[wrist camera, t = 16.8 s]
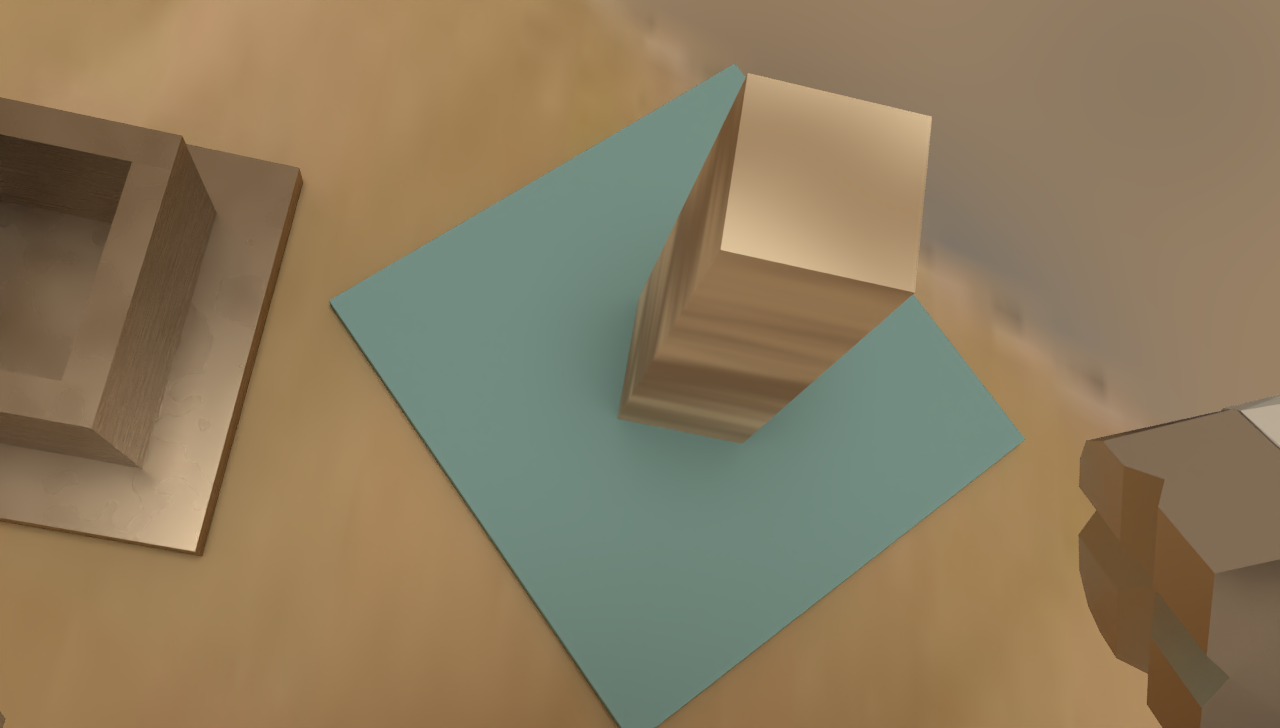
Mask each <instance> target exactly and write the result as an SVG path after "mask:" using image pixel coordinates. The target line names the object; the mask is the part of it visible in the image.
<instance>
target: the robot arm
mask: <svg viewBox="0 0 1280 728" xmlns="http://www.w3.org/2000/svg"><path fill="white" fill-rule="evenodd" d="M1079 487H1080V489H1081V490H1082V491H1083V493H1084V494H1085V495H1086V497H1087V498H1088V499H1089V501H1090V502H1091V503H1092V505H1093V506H1094V507H1095V509H1096V511H1095V513H1094V514H1093V516H1092V517H1091V518H1090V520H1089V521H1088V522H1087V524H1086V525H1085V527H1084V528H1083V529H1082V531H1081V532H1080V533H1079V571H1080V575H1081V579H1082V583H1083V587H1084V591H1085V595H1086V599H1087V603H1088V607H1089V609H1090V611H1091V613H1092V615H1093V618H1094V620H1095V622H1096V624H1097V627H1098V629H1099V631H1100V633H1101V635H1102V636H1103V638H1104V639H1105V641H1106V642H1107V644H1108V646H1109V647H1110V649H1111V650H1112V652H1113V653H1114V655H1115V657H1116V658H1117V659H1119V660H1121V661H1123V662H1125V663H1127V664H1129V665H1131V666H1133V667H1135V668H1137V669H1139V670H1141V671H1143V672H1145V673H1147V674H1148V688H1147V705H1148V707H1149V708H1150V710H1151V711H1152V713H1153V714H1154V716H1155V717H1156V719H1157V720H1158V722H1159V723H1160V725H1161V726H1162V728H1280V394H1279V395H1275V396H1271V397H1267V398H1263V399H1259V400H1254V401H1251V402H1246V403H1242V404H1238V405H1234V406H1230V407H1225V408H1223V409H1222V410H1221V411H1219V412H1213V413H1208V414H1204V415H1199V416H1195V417H1191V418H1186V419H1181V420H1177V421H1172V422H1168V423H1163V424H1159V425H1154V426H1150V427H1145V428H1140V429H1136V430H1131V431H1127V432H1122V433H1118V434H1113V435H1109V436H1104V437H1100V438H1095V439H1091V440H1086V443H1085V446H1084V448H1083V451H1082V454H1081V457H1080V476H1079ZM4 723H5V717H4V716H3V715H2V713H1V712H0V728H3V726H4Z"/></svg>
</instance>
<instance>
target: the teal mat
mask: <svg viewBox="0 0 1280 728" xmlns="http://www.w3.org/2000/svg"><path fill="white" fill-rule="evenodd" d="M745 78H746V77H745V76H744V75H743V73H742V72H741V71H740V69H739V68H738V67H737V66H736V64H733V65H731V66H730V67H728V68H726V69H725V70H723V71H721V72H720V73H718V74H716V75H714V76H713V77H711V78H709V79H708V80H706V81H704V82H702V83H701V84H699V85H697V86H696V87H694V88H692V89H690V90H689V91H687V92H685V93H684V94H682V95H680V96H678V97H677V98H675V99H673V100H672V101H670V102H668V103H666V104H665V105H663V106H661V107H660V108H658V109H656V110H654V111H653V112H651V113H649V114H648V115H646V116H644V117H642V118H641V119H639V120H637V121H636V122H634V123H632V124H631V125H629V126H627V127H625V128H624V129H622V130H620V131H619V132H617V133H615V134H613V135H612V136H610V137H608V138H607V139H605V140H603V141H601V142H600V143H598V144H596V145H595V146H593V147H591V148H589V149H588V150H586V151H584V152H583V153H581V154H579V155H577V156H576V157H574V158H572V159H571V160H569V161H567V162H565V163H564V164H562V165H560V166H559V167H557V168H555V169H554V170H552V171H550V172H548V173H547V174H545V175H543V176H542V177H540V178H538V179H536V180H535V181H533V182H531V183H530V184H528V185H526V186H524V187H523V188H521V189H519V190H518V191H516V192H514V193H512V194H511V195H509V196H507V197H506V198H504V199H502V200H500V201H499V202H497V203H495V204H494V205H492V206H490V207H488V208H487V209H485V210H483V211H482V212H480V213H478V214H476V215H475V216H473V217H471V218H470V219H468V220H466V221H465V222H463V223H461V224H459V225H458V226H456V227H454V228H453V229H451V230H449V231H447V232H446V233H444V234H442V235H441V236H439V237H437V238H435V239H434V240H432V241H430V242H429V243H427V244H425V245H423V246H422V247H420V248H418V249H417V250H415V251H413V252H411V253H410V254H408V255H406V256H405V257H403V258H401V259H399V260H398V261H396V262H394V263H393V264H391V265H389V266H387V267H386V268H384V269H382V270H381V271H379V272H377V273H376V274H374V275H372V276H370V277H369V278H367V279H365V280H364V281H362V282H360V283H358V284H357V285H355V286H353V287H352V288H350V289H348V290H346V291H345V292H343V293H341V294H340V295H338V296H336V297H334V298H333V299H331V300H329V302H330V306H331V307H332V309H333V310H334V312H335V313H336V315H337V316H338V318H339V319H340V320H341V322H342V323H343V325H344V326H345V328H346V329H347V331H348V332H349V334H350V335H351V337H352V338H353V339H354V341H355V342H356V344H357V345H358V347H359V348H360V350H361V351H362V353H363V354H364V356H365V357H366V358H367V360H368V361H369V363H370V364H371V366H372V367H373V369H374V370H375V372H376V373H377V375H378V376H379V377H380V379H381V380H382V382H383V383H384V385H385V386H386V388H387V389H388V391H389V392H390V393H391V395H392V396H393V398H394V399H395V401H396V402H397V404H398V405H399V407H400V408H401V410H402V411H403V412H404V414H405V415H406V417H407V418H408V420H409V421H410V423H411V424H412V426H413V427H414V429H415V430H416V431H417V433H418V434H419V436H420V437H421V439H422V440H423V442H424V443H425V445H426V446H427V448H428V449H429V450H430V452H431V453H432V455H433V456H434V458H435V459H436V461H437V462H438V464H439V465H440V467H441V468H442V469H443V471H444V472H445V474H446V475H447V477H448V478H449V480H450V481H451V483H452V484H453V486H454V487H455V488H456V490H457V491H458V493H459V494H460V496H461V497H462V499H463V500H464V502H465V503H466V505H467V506H468V507H469V509H470V510H471V512H472V513H473V515H474V516H475V518H476V519H477V521H478V522H479V524H480V525H481V526H482V528H483V529H484V531H485V532H486V534H487V535H488V537H489V538H490V540H491V541H492V543H493V544H494V545H495V547H496V548H497V550H498V551H499V553H500V554H501V556H502V557H503V559H504V560H505V561H506V563H507V564H508V566H509V567H510V569H511V570H512V572H513V573H514V575H515V576H516V578H517V579H518V580H519V582H520V583H521V585H522V586H523V588H524V589H525V591H526V592H527V594H528V595H529V597H530V598H531V599H532V601H533V602H534V604H535V605H536V607H537V608H538V610H539V611H540V613H541V614H542V616H543V617H544V618H545V620H546V621H547V623H548V624H549V626H550V627H551V629H552V630H553V632H554V633H555V635H556V636H557V637H558V639H559V640H560V642H561V643H562V645H563V646H564V648H565V649H566V651H567V652H568V654H569V655H570V656H571V658H572V659H573V661H574V662H575V664H576V665H577V667H578V668H579V670H580V671H581V673H582V674H583V675H584V677H585V678H586V680H587V681H588V683H589V684H590V686H591V687H592V689H593V690H594V692H595V693H596V694H597V696H598V697H599V699H600V700H601V702H602V703H603V705H604V706H605V708H606V709H607V710H608V712H609V713H610V715H611V716H612V718H613V719H614V721H615V722H616V724H617V725H618V727H619V728H656V727H657V726H658V725H660V724H661V723H662V722H663V721H665V720H666V719H667V718H668V717H670V716H671V715H672V714H674V713H675V712H676V711H677V710H679V709H680V708H681V707H683V706H684V705H685V704H686V703H688V702H689V701H690V700H692V699H693V698H694V697H695V696H697V695H698V694H699V693H701V692H702V691H703V690H704V689H706V688H707V687H708V686H710V685H711V684H712V683H713V682H715V681H716V680H717V679H719V678H720V677H721V676H722V675H724V674H725V673H726V672H727V671H729V670H730V669H731V668H733V667H734V666H735V665H736V664H738V663H739V662H740V661H742V660H743V659H744V658H745V657H747V656H748V655H749V654H751V653H752V652H753V651H754V650H756V649H757V648H758V647H760V646H761V645H762V644H763V643H765V642H766V641H767V640H769V639H770V638H771V637H772V636H774V635H775V634H776V633H778V632H779V631H780V630H781V629H783V628H784V627H785V626H787V625H788V624H789V623H790V622H792V621H793V620H794V619H795V618H797V617H798V616H799V615H801V614H802V613H803V612H804V611H806V610H807V609H808V608H810V607H811V606H812V605H813V604H815V603H816V602H817V601H819V600H820V599H821V598H822V597H824V596H825V595H826V594H828V593H829V592H830V591H831V590H833V589H834V588H835V587H837V586H838V585H839V584H840V583H842V582H843V581H844V580H846V579H847V578H848V577H849V576H851V575H852V574H853V573H854V572H856V571H857V570H858V569H860V568H861V567H862V566H863V565H865V564H866V563H867V562H869V561H870V560H871V559H872V558H874V557H875V556H876V555H878V554H879V553H880V552H881V551H883V550H884V549H885V548H887V547H888V546H889V545H890V544H892V543H893V542H894V541H896V540H897V539H898V538H899V537H901V536H902V535H903V534H905V533H906V532H907V531H908V530H910V529H911V528H912V527H914V526H915V525H916V524H917V523H919V522H920V521H921V520H922V519H924V518H925V517H926V516H928V515H929V514H930V513H931V512H933V511H934V510H935V509H937V508H938V507H939V506H940V505H942V504H943V503H944V502H946V501H947V500H948V499H949V498H951V497H952V496H953V495H955V494H956V493H957V492H958V491H960V490H961V489H962V488H964V487H965V486H966V485H967V484H969V483H970V482H971V481H973V480H974V479H975V478H976V477H978V476H979V475H980V474H982V473H983V472H984V471H985V470H987V469H988V468H989V467H990V466H992V465H993V464H994V463H996V462H997V461H998V460H999V459H1001V458H1002V457H1003V456H1005V455H1006V454H1007V453H1008V452H1010V451H1011V450H1012V449H1014V448H1015V447H1016V446H1017V445H1019V444H1020V443H1021V442H1023V441H1024V440H1025V438H1024V437H1023V436H1022V435H1021V433H1020V432H1019V431H1018V429H1017V428H1016V427H1015V425H1014V424H1013V423H1012V422H1011V420H1010V419H1009V418H1008V416H1007V415H1006V414H1005V413H1004V411H1003V410H1002V409H1001V407H1000V406H999V405H998V403H997V402H996V401H995V400H994V398H993V397H992V396H991V394H990V393H989V392H988V391H987V389H986V388H985V387H984V385H983V384H982V383H981V381H980V380H979V379H978V378H977V376H976V375H975V374H974V372H973V371H972V370H971V369H970V367H969V366H968V365H967V363H966V362H965V361H964V359H963V358H962V357H961V356H960V354H959V353H958V352H957V350H956V349H955V348H954V347H953V345H952V344H951V343H950V341H949V340H948V339H947V337H946V336H945V335H944V334H943V332H942V331H941V330H940V328H939V327H938V326H937V325H936V323H935V322H934V321H933V319H932V318H931V317H930V315H929V314H928V313H927V312H926V310H925V309H924V308H923V306H922V305H921V304H920V302H919V301H918V300H917V299H916V297H915V296H914V295H912V296H910V297H909V298H908V299H907V300H906V301H905V302H904V303H902V304H901V305H900V306H899V307H898V308H897V309H896V310H894V311H893V312H892V313H891V314H890V315H889V316H888V317H886V318H885V319H884V320H883V321H882V322H881V323H880V324H878V325H877V326H876V327H875V328H874V329H873V330H872V331H870V332H869V333H868V334H867V335H866V336H865V337H864V338H862V339H861V340H860V341H859V342H858V343H857V344H856V345H854V346H853V347H852V348H851V349H850V350H849V351H848V352H847V353H845V354H844V355H843V356H842V357H841V358H840V359H839V360H837V361H836V362H835V363H834V364H833V365H832V366H831V367H829V368H828V369H827V370H826V371H825V372H824V373H823V374H821V375H820V376H819V377H818V378H817V379H816V380H815V381H813V382H812V383H811V384H810V385H809V386H808V387H807V388H805V389H804V390H803V391H802V392H801V393H800V394H799V395H797V396H796V397H795V398H794V399H793V400H792V401H791V402H789V403H788V404H787V405H786V406H785V407H784V408H783V409H781V410H780V411H779V412H778V413H777V414H776V415H775V416H773V417H772V418H771V419H770V420H769V421H768V422H767V423H766V424H764V425H763V426H762V427H761V428H760V429H759V430H758V431H756V432H755V433H754V434H753V435H752V436H751V437H750V438H748V439H747V440H746V441H745V442H744V443H743V444H741V443H736V442H731V441H726V440H721V439H716V438H711V437H706V436H701V435H696V434H691V433H686V432H681V431H676V430H671V429H666V428H661V427H656V426H651V425H647V424H642V423H637V422H632V421H627V420H622V419H617V418H618V413H619V407H620V401H621V395H622V390H623V384H624V378H625V373H626V367H627V361H628V355H629V350H630V344H631V338H632V333H633V327H634V321H635V316H636V310H637V304H638V299H639V297H640V295H641V293H642V291H643V289H644V287H645V284H646V282H647V280H648V278H649V276H650V274H651V272H652V270H653V268H654V266H655V264H656V262H657V260H658V258H659V256H660V253H661V251H662V249H663V247H664V245H665V243H666V241H667V239H668V237H669V235H670V233H671V231H672V229H673V227H674V225H675V222H676V220H677V218H678V216H679V214H680V212H681V210H682V208H683V206H684V204H685V202H686V200H687V198H688V196H689V194H690V191H691V189H692V187H693V185H694V183H695V181H696V179H697V177H698V175H699V173H700V171H701V169H702V167H703V165H704V162H705V160H706V158H707V156H708V154H709V152H710V150H711V148H712V146H713V144H714V142H715V140H716V138H717V136H718V134H719V131H720V129H721V127H722V125H723V123H724V121H725V119H726V117H727V115H728V113H729V111H730V109H731V107H732V105H733V103H734V100H735V98H736V96H737V94H738V92H739V90H740V88H741V86H742V84H743V82H744V80H745Z"/></svg>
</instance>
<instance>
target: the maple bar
mask: <svg viewBox="0 0 1280 728" xmlns="http://www.w3.org/2000/svg"><path fill="white" fill-rule="evenodd" d="M931 120H932V117H931V116H926V115H922V114H918V113H914V112H909V111H905V110H901V109H896V108H893V107H888V106H884V105H880V104H875V103H871V102H867V101H863V100H859V99H854V98H851V97H846V96H842V95H838V94H834V93H830V92H825V91H821V90H817V89H813V88H808V87H804V86H800V85H796V84H792V83H787V82H783V81H779V80H775V79H770V78H766V77H762V76H758V75H754V74H749V73H748V74H747V76H746V78H745V80H744V82H743V84H742V86H741V88H740V90H739V92H738V94H737V96H736V98H735V100H734V103H733V105H732V107H731V109H730V111H729V113H728V115H727V117H726V119H725V121H724V123H723V125H722V127H721V129H720V131H719V134H718V136H717V138H716V140H715V142H714V144H713V146H712V148H711V150H710V152H709V154H708V156H707V158H706V160H705V162H704V165H703V167H702V169H701V171H700V173H699V175H698V177H697V179H696V181H695V183H694V185H693V187H692V189H691V191H690V194H689V196H688V198H687V200H686V202H685V204H684V206H683V208H682V210H681V212H680V214H679V216H678V218H677V220H676V222H675V225H674V227H673V229H672V231H671V233H670V235H669V237H668V239H667V241H666V243H665V245H664V247H663V249H662V251H661V253H660V256H659V258H658V260H657V262H656V264H655V266H654V268H653V270H652V272H651V274H650V276H649V278H648V280H647V282H646V284H645V287H644V289H643V291H642V293H641V295H640V297H639V299H638V304H637V310H636V316H635V321H634V327H633V333H632V338H631V344H630V350H629V355H628V361H627V367H626V373H625V378H624V384H623V390H622V395H621V401H620V407H619V413H618V418H617V419H622V420H627V421H632V422H637V423H642V424H647V425H651V426H656V427H661V428H666V429H671V430H676V431H681V432H686V433H691V434H696V435H701V436H706V437H711V438H716V439H721V440H726V441H731V442H736V443H741V444H743V443H744V442H745V441H746V440H747V439H748V438H750V437H751V436H752V435H753V434H754V433H755V432H756V431H758V430H759V429H760V428H761V427H762V426H763V425H764V424H766V423H767V422H768V421H769V420H770V419H771V418H772V417H773V416H775V415H776V414H777V413H778V412H779V411H780V410H781V409H783V408H784V407H785V406H786V405H787V404H788V403H789V402H791V401H792V400H793V399H794V398H795V397H796V396H797V395H799V394H800V393H801V392H802V391H803V390H804V389H805V388H807V387H808V386H809V385H810V384H811V383H812V382H813V381H815V380H816V379H817V378H818V377H819V376H820V375H821V374H823V373H824V372H825V371H826V370H827V369H828V368H829V367H831V366H832V365H833V364H834V363H835V362H836V361H837V360H839V359H840V358H841V357H842V356H843V355H844V354H845V353H847V352H848V351H849V350H850V349H851V348H852V347H853V346H854V345H856V344H857V343H858V342H859V341H860V340H861V339H862V338H864V337H865V336H866V335H867V334H868V333H869V332H870V331H872V330H873V329H874V328H875V327H876V326H877V325H878V324H880V323H881V322H882V321H883V320H884V319H885V318H886V317H888V316H889V315H890V314H891V313H892V312H893V311H894V310H896V309H897V308H898V307H899V306H900V305H901V304H902V303H904V302H905V301H906V300H907V299H908V298H909V297H910V296H912V295H913V294H914V293H915V286H916V275H917V265H918V255H919V245H920V234H921V224H922V214H923V203H924V193H925V182H926V172H927V162H928V152H929V141H930V131H931Z"/></svg>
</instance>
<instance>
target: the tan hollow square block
mask: <svg viewBox="0 0 1280 728" xmlns="http://www.w3.org/2000/svg"><path fill="white" fill-rule="evenodd" d="M302 183H303V180H302V176H301V172H300V169H299V168H297V167H292V166H288V165H283V164H278V163H273V162H269V161H264V160H259V159H254V158H250V157H245V156H240V155H235V154H231V153H226V152H221V151H217V150H212V149H207V148H202V147H198V146H193V145H188V144H185V141H184V139H183V137H182V136H180V135H176V134H171V133H166V132H161V131H157V130H152V129H147V128H143V127H138V126H133V125H128V124H124V123H119V122H114V121H109V120H105V119H100V118H95V117H91V116H86V115H81V114H76V113H72V112H67V111H62V110H58V109H53V108H48V107H43V106H39V105H34V104H29V103H25V102H20V101H15V100H10V99H6V98H1V97H0V521H3V522H9V523H15V524H20V525H26V526H32V527H38V528H43V529H49V530H55V531H61V532H67V533H72V534H78V535H84V536H90V537H95V538H101V539H107V540H113V541H118V542H124V543H130V544H136V545H141V546H147V547H153V548H159V549H165V550H170V551H176V552H182V553H188V554H193V555H199V556H202V554H203V550H204V546H205V543H206V539H207V535H208V531H209V528H210V524H211V520H212V517H213V513H214V509H215V506H216V502H217V498H218V494H219V491H220V487H221V483H222V480H223V476H224V472H225V469H226V465H227V461H228V457H229V454H230V450H231V446H232V443H233V439H234V435H235V432H236V428H237V424H238V420H239V417H240V413H241V409H242V406H243V402H244V398H245V394H246V391H247V387H248V383H249V380H250V376H251V372H252V369H253V365H254V361H255V357H256V354H257V350H258V346H259V343H260V339H261V335H262V332H263V328H264V324H265V320H266V317H267V313H268V309H269V306H270V302H271V298H272V295H273V291H274V287H275V283H276V280H277V276H278V272H279V269H280V265H281V261H282V257H283V254H284V250H285V246H286V243H287V239H288V235H289V232H290V228H291V224H292V220H293V217H294V213H295V209H296V206H297V202H298V198H299V195H300V191H301V187H302Z"/></svg>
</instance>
